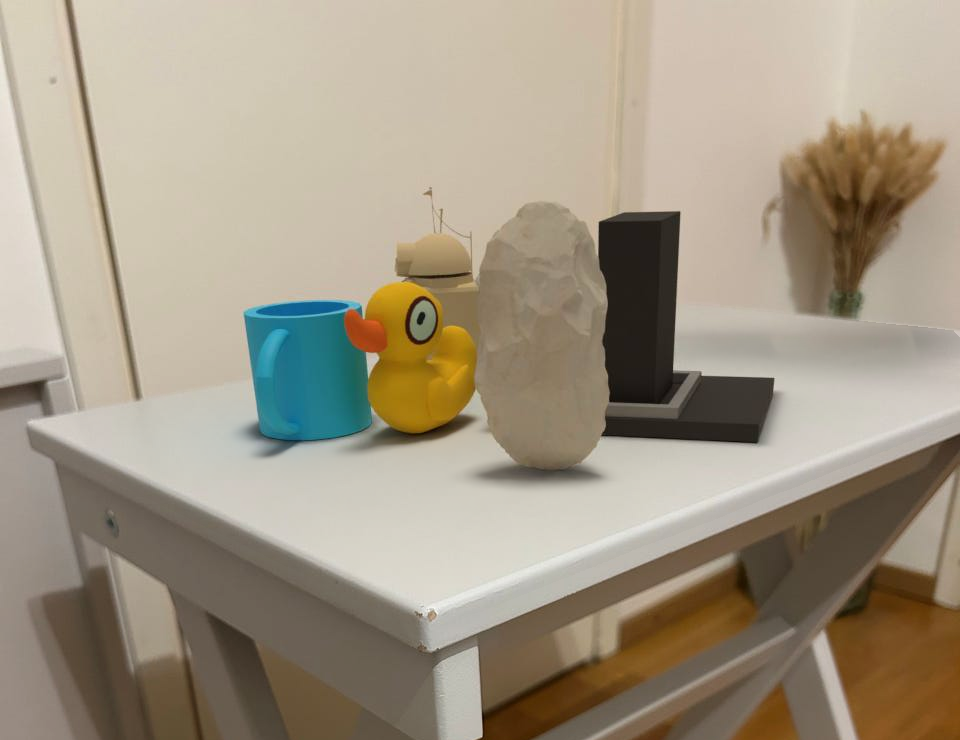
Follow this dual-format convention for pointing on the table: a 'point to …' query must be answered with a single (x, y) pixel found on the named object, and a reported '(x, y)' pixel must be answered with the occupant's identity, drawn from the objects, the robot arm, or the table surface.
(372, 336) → the duckling
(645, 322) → the pad block
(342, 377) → the mug
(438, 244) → the robot
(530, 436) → the stone
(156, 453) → the table surface
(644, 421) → the base pad
